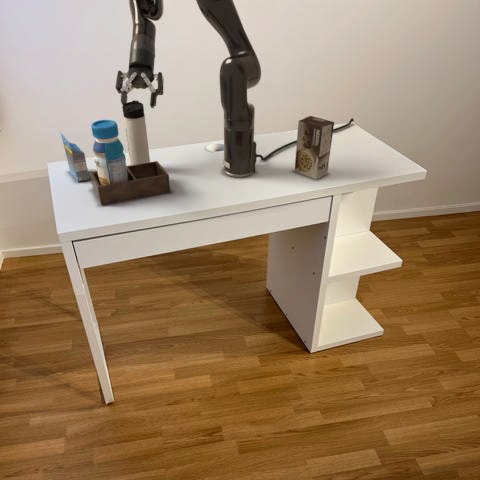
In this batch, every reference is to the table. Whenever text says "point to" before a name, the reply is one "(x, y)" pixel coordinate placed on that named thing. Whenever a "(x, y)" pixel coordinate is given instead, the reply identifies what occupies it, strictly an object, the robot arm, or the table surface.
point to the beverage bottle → (108, 153)
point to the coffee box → (313, 146)
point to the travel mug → (136, 132)
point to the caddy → (133, 184)
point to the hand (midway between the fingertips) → (138, 106)
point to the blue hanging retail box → (76, 160)
